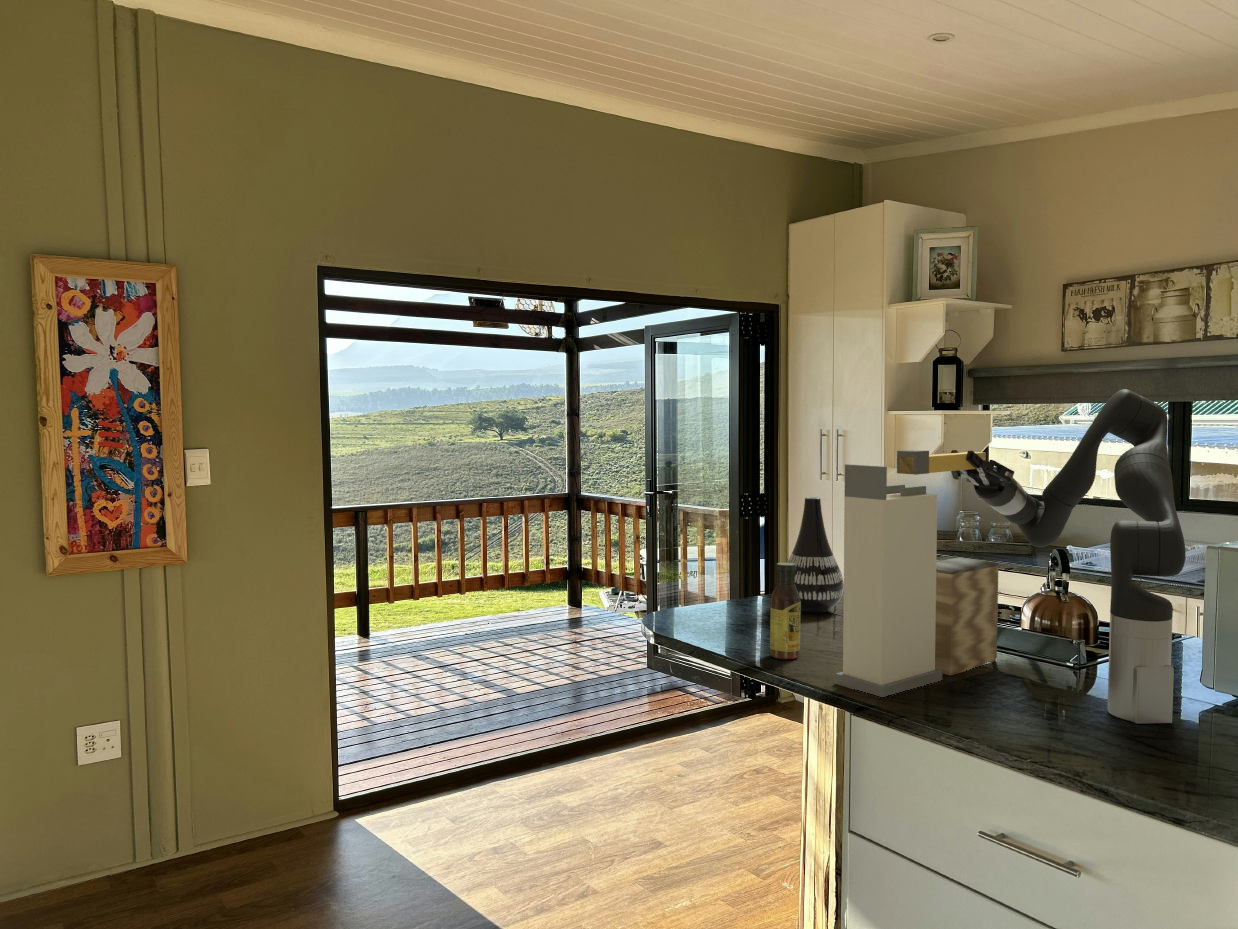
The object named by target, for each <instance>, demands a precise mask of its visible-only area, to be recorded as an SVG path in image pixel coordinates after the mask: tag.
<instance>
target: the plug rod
mask: <svg viewBox="0 0 1238 929" xmlns="http://www.w3.org/2000/svg"><path fill="white" fill-rule="evenodd" d="M974 452H975V453H976V454H977V455H978V456H979V457H980V458H984V459H986V460H987V457H986V456H987V453H986V452H984V451H983V452H982V451H980V452H979V451H974ZM967 453H968V451H967V452H966V451H965V452H959V453H951V452H949V453H935V454H930V450H921V449H903V450H901V449H900V450H896V474H900V475H902V474H903V475H926V474H933V473H945V472H951V471H957V470H968V469H977V468H975V467H973V466H972V465H971V464H970V463H969V462H968V461H967V460H966V456H967Z"/></svg>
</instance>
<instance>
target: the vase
mask: <svg viewBox="0 0 1238 929" xmlns="http://www.w3.org/2000/svg"><path fill="white" fill-rule="evenodd" d="M821 501H822V500H821V497H819V496H817V497H816V496H807V497H805V498H804V504H803V512H802V517H801V518H802V519H801V523H800V528H799V532H798V536H797V538H796V542H795V544H794V548H793V549H792V552H791V554H790V556H789V558H788V560H787V562H786V563H794V564H796V571H795V586H796V589H797V592H798V595H799V598H800V601H801V610H800V614H801V613H802V614H805V615H822V614H825V612H826V611H828V610H830V609H833V608H834V607H836V605H838V603H840V600H841V599H842V597H843V596H844V576H843V574H842V572H841V569H840V566H839V563H837V560H836V558H835V556H834V553H833V551H832V549H831V546H830V545H831V544H830V543H829V540H828V537H827V534H826V533H827V532H826V529H825V528H826V527H825V524H824V518H823V512H822V510H823V509H822V502H821Z"/></svg>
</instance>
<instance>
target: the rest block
mask: <svg viewBox="0 0 1238 929" xmlns="http://www.w3.org/2000/svg"><path fill="white" fill-rule="evenodd" d="M999 564H1000V563H999V562H994V561H988V560H980V559H974V558H967V557H953V558H949V559H941V560H936V626H935V668H936V669H940V670H942V675H947V676H950V675H951V676H954V675H958V674H961V673H964V672H966V670H967V671H970V669H971V670H973V669H972V668H974V669H976V668H975V667H977V666H980V665H983V664H985V663H987V662H990V661H992V660H994V659H996V658H998V655H997V654H998V618H999V617H998V613H999V611H998V609H999V604H998V603H999Z"/></svg>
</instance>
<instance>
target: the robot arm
mask: <svg viewBox="0 0 1238 929" xmlns="http://www.w3.org/2000/svg"><path fill="white" fill-rule="evenodd" d="M1168 420H1169V418H1168V414H1167V411H1166V409H1164V408H1163V407H1162V406H1161V405H1160V404H1158V403H1157V402H1154V401H1152V400H1150V399H1149V398H1146V397H1145V396H1143V395H1140V394H1139V393H1136V392H1134V391H1132V390H1130V389H1126V388H1125V389H1119V390H1118V391H1117V392H1114V394H1112V395H1111V397H1110V398H1109V399H1107V400H1106V402H1105V404H1103V406H1102V407H1101V409H1100V411H1098V414H1097V415H1096V417H1095V418H1094V419H1093V421H1092V423H1091V424H1090V426H1089V427H1088V429H1087V430H1086V431H1085V433H1084V435H1083V437H1082V438H1081V440H1080V441H1079V443H1078V444H1077V446H1076V447H1075V450H1074V451H1073V453H1072V454H1071V455H1070V457H1069V459H1068V460H1067V462H1066V463H1065V464H1064V465H1063V467H1062V468H1061V469H1060V471H1059V472H1057V474H1056V475H1055V476H1054V477H1053V478H1052V480H1051V481H1050V482H1049V483H1048V484H1047V486H1046V487H1045V488H1044V489H1043V491H1042V493H1041V497H1042V502H1043V503H1042V502H1041V501H1040V500H1039V499H1037V498H1035V497H1033V496H1031V495H1030V494H1029V493H1028V492H1027V491H1026V490H1025V489H1024V488H1023V486H1022V485H1021V484H1020V482H1018V480H1016V479H1015V478H1014V475H1015V470H1013V469H1011V468H1009V467H1008V466H1005V465H1003V464H1001V463H1000V462H998V461H996V460H994V459H989V461H988V460H987V458H986V459H984V458H980V457H979V456H978V455H977V454H976V453H975V452H976V451H974V450H971V449H969V450H967V452H968V453H967V456H966V460H967V461H968V462H969V463H970V464H971V465H972V466H973V467H975V468H977V469H968V470H957V471H950V472H951V475H952V479H954V480H957V481H958V480H960V479H961V478H964V479H966V481H967V482H969V483H971V484H973V488H974V490H975V493H976V495H977V496H979V498H980V499H982V500H983V501H984V502H985V503H986V504H987V505H988V506H989V507H991V508H992V509H993V510H994V511H996V512H998V513H999V514H1000V515H1002V517H1004V518H1005V519H1006V520H1007V521H1009V522H1011V523H1013V524H1015V525H1017V527H1018V528H1019V529H1020V531H1021V532H1022V535H1023V536H1024V538H1025V539H1026V541H1027V542H1028V543H1029V545H1030V546H1033V547H1035V548H1045V547H1048V546H1051V544H1053V543H1054V542H1055V541H1057V539H1059V537H1060V536H1061V534H1062V532H1063V531H1064V529H1065V527H1066V525H1067V523H1068V520H1069V519H1070V516H1071V513H1072V511H1073V509H1074V508H1075V507H1076V506H1077V505H1078V504H1079V503H1080V502H1081V500H1082V499H1083V498H1084V497H1086V495H1087V494H1088V493H1089V491H1090V490H1091V489H1092V487H1093V485H1094V483H1095V479H1096V476H1097V475H1096V474H1097V473H1096V472H1097V460H1098V454H1099V448H1100V445H1101V443H1102V441H1103V440H1104V438H1105V437H1106V436H1107V434H1112V435H1113V436H1114V437H1115V436H1116V438H1119V439H1121V440H1123V441H1125V442H1128V444H1130V445H1132V446H1133V447H1131V448H1129V449H1127V450H1126V451H1125V452H1123V453H1122V454H1121V455H1120V457H1118V459H1117V460H1116V463H1115V465H1114V470H1113V471H1114V472H1113V473H1114V488H1115V489H1114V490H1115V492H1116V495H1117V497H1118V499H1119V500H1120V501H1121V503H1123V504H1124V506H1126V507H1127V508H1128V509H1129V510H1131V511H1132V512H1133V513H1135V514H1136V515H1137V516H1139V517H1140V518H1141V519H1142V520H1118V521H1116V522H1115V523H1114V524H1113V526H1112V528H1111V531H1110V541H1109V547H1110V548H1109V552H1110V554H1109V555H1110V572H1111V573H1110V575H1111V576H1110V578H1111V579H1110V581H1111V582H1110V587H1111V589H1110V607H1109V612H1110V614H1109V638H1108V641H1109V644H1108V645H1109V647H1108V677H1107V712H1108V713H1109V714H1110V715H1111V716H1113V717H1116V718H1118V719H1119V718H1120V719H1122V720H1125V721H1130V722H1133V723H1135V724H1136V725H1137V724H1172V723H1173V704H1174V703H1173V701H1174V676H1175V675H1174V671H1175V669H1174V667H1173V666H1172V647H1173V646H1172V643H1173V642H1172V641H1173V640H1172V639H1173V616H1174V615H1173V614H1174V611H1173V610H1174V609H1173V608H1174V607H1173V603H1172V602H1171V600H1169V599H1167V598H1165V597H1163V596H1161V595H1158V594H1156V593H1153V592H1150V591H1148V590H1146V589H1144V588H1142V587H1140V586H1139V585H1137V584H1136V583H1135V582H1134V581H1133V576H1141V577H1158V578H1168V577H1169V578H1170V577H1174V576H1177V575H1179V574H1180V573H1181V572H1182V570H1183V569H1184V567H1185V563H1186V558H1187V557H1186V542H1185V538H1184V532H1183V530H1182V526H1181V524H1180V520H1179V516H1178V512H1177V510H1176V509H1177V508H1176V504H1175V496H1174V484H1173V477H1172V470H1171V465H1170V460H1169V454H1168V445H1167V444H1168V426H1169V425H1168V424H1169V421H1168ZM950 453H960V452H959V451H958V450H957V449H952V450H951V452H950Z"/></svg>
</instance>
